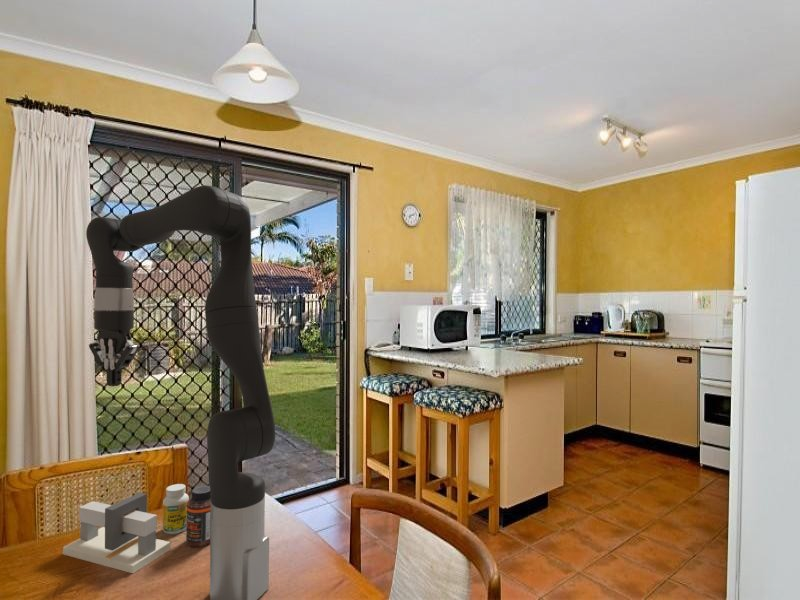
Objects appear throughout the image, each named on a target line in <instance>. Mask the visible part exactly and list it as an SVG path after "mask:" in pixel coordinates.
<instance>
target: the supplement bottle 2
mask: <svg viewBox="0 0 800 600" xmlns="http://www.w3.org/2000/svg"><path fill="white" fill-rule="evenodd" d="M210 519H211V492H210V486H209V485H201V486H196V487H195V488H193V489H191V498H190V499H189V501H188V503H187V529H186V530H185V531H186V537H185V538H186V539H185V540H186V543H187V545H188V546H190V547H203V546H206V545H209V544H210Z"/></svg>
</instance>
